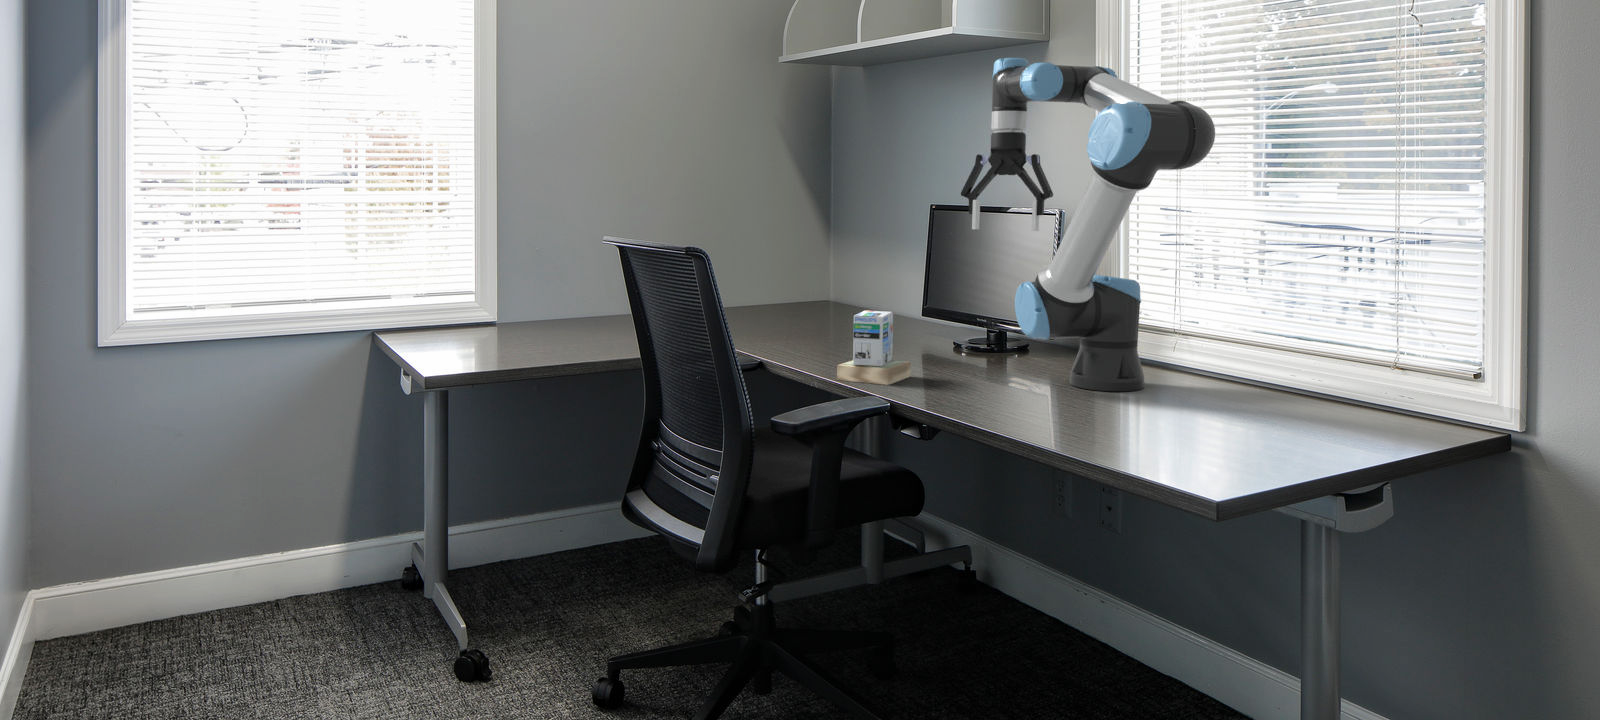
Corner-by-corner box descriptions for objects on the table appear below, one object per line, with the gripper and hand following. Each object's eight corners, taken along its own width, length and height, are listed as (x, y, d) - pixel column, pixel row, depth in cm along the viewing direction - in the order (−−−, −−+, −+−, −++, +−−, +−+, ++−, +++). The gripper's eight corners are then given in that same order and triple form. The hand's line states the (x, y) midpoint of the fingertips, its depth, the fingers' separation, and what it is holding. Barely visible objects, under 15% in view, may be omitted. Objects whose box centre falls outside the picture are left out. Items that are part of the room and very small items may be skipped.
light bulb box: (882, 367, 236) (883, 316, 234) (851, 365, 238) (852, 315, 236) (893, 359, 246) (894, 310, 244) (863, 358, 248) (864, 309, 246)
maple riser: (910, 376, 245) (910, 361, 244) (888, 384, 234) (888, 368, 234) (860, 371, 251) (861, 356, 250) (837, 379, 240) (837, 364, 240)
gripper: (1070, 131, 241) (1065, 231, 244) (960, 133, 253) (957, 227, 256) (1060, 130, 234) (1056, 232, 238) (948, 132, 246) (945, 229, 249)
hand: (1004, 230), depth 247 cm, fingers open, 13 cm apart
